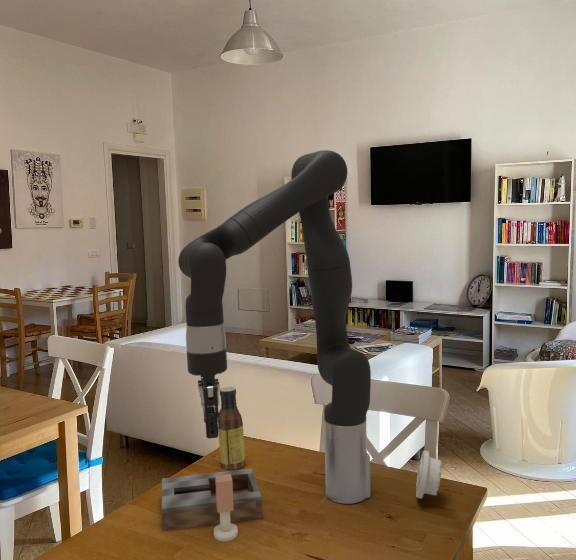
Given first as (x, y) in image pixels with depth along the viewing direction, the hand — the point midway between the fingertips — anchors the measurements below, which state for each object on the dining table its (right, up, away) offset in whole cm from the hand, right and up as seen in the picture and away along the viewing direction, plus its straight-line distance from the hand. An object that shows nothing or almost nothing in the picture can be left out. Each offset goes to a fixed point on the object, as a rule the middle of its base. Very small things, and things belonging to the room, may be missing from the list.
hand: (210, 429), depth 110 cm
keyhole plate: (-2, -20, +11) cm, 23 cm away
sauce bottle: (+1, -18, +32) cm, 37 cm away
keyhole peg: (+3, -21, +1) cm, 21 cm away
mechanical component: (+45, -19, +14) cm, 51 cm away
